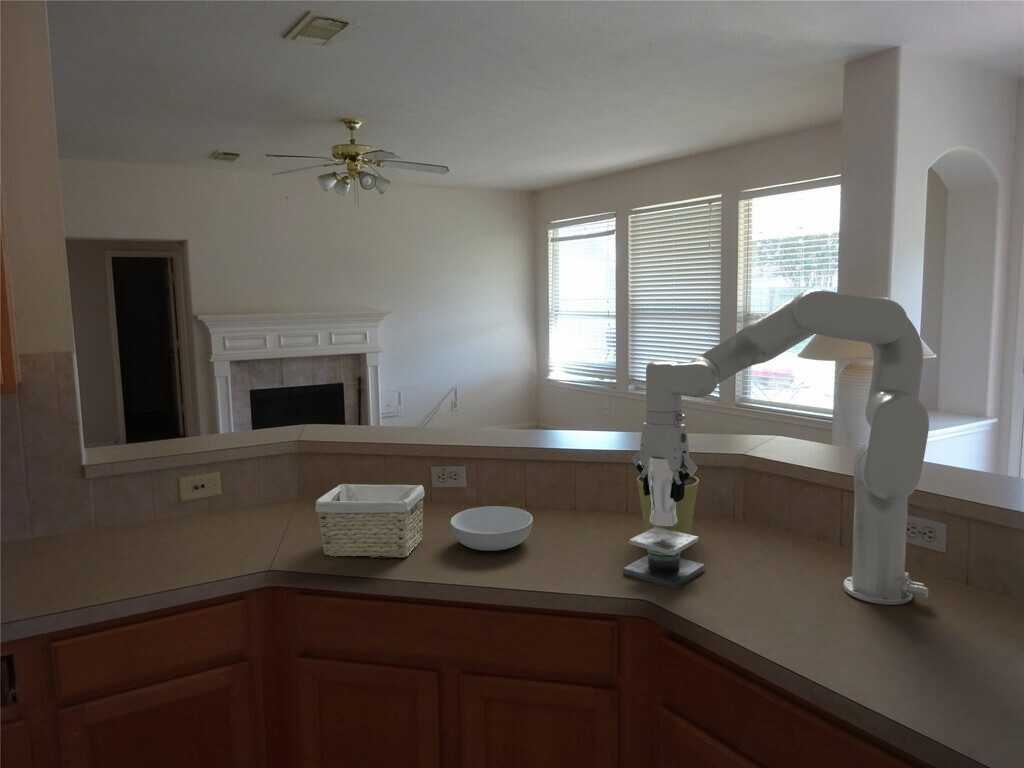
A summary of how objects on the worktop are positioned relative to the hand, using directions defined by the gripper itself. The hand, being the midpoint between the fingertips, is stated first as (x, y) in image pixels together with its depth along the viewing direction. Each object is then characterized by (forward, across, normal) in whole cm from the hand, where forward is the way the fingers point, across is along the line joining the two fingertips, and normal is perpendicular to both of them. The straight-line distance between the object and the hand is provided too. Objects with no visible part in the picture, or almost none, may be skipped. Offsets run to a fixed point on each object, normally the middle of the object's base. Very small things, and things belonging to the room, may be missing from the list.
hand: (663, 496), depth 156 cm
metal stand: (+17, 0, 0) cm, 17 cm away
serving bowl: (+18, +43, +11) cm, 48 cm away
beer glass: (+6, 0, 0) cm, 6 cm away
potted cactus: (+18, +12, -22) cm, 31 cm away
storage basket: (+18, +65, +31) cm, 74 cm away
